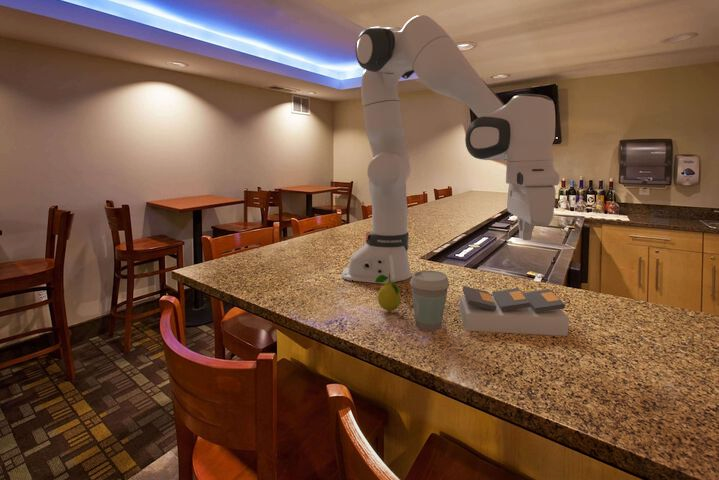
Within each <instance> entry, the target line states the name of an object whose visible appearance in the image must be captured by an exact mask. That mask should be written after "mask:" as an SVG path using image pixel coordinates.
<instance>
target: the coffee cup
mask: <svg viewBox="0 0 719 480" xmlns="http://www.w3.org/2000/svg"><path fill="white" fill-rule="evenodd" d="M410 278H411V279H410V282H409V284H410V286H411V291H412V292H411V293H412V302H413V304H412V305H413V314H414V323H415V327H416V328H417V329H418V330H420V331H424V332H437V331H439V330H441V328H442V327H443V318H444V315H445V313H444V312H445V307H446V301H447V293H448V288H449V287H450V281H449V279H448V275H447V274H445V273H444V272H441V271H436V270H419V271H415V272H414V273H413V274H412V276H411V277H410Z"/></svg>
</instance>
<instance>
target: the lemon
mask: <svg viewBox="0 0 719 480" xmlns="http://www.w3.org/2000/svg"><path fill="white" fill-rule="evenodd" d="M387 279H388V277H386V276H384V275H380V276H378V277H377V279H376V281H375V282H377V283H376V284H381V283H380V282H385V281H387ZM379 288H380V289H379V290H378V296H377V300H378V304H379V306H380V307H381V308H382V309H383V310H385V311H386V312H388V313H392V311H394V310H397V309H398V307H400V305H401V300H402V299H401V297H403V295H402V293H401V291H400V288H399V287H398V286H397V284H396V282H394V283H393V282H390V274H389V282H388V283H387V284H383V285H382V286H381V287H379Z"/></svg>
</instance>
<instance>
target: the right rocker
mask: <svg viewBox="0 0 719 480" xmlns="http://www.w3.org/2000/svg"><path fill="white" fill-rule="evenodd" d="M522 293H523V295H524V296H525V297H526V298H527V299H528V301H529V302H530V306H531V307H532V309H533V310H534V311H535V312H543V311H550V310H557V309H561V310H562V309H564V310H565V309H566V304H565V303H564V302H563V301H562V300H561V299H560V298H559V296H557V295H556V294H555V293H554V292H553V291H552V290H551V289H550V288H547V289H540V290H534V291H528V292H527V291H526V292H522Z"/></svg>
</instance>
